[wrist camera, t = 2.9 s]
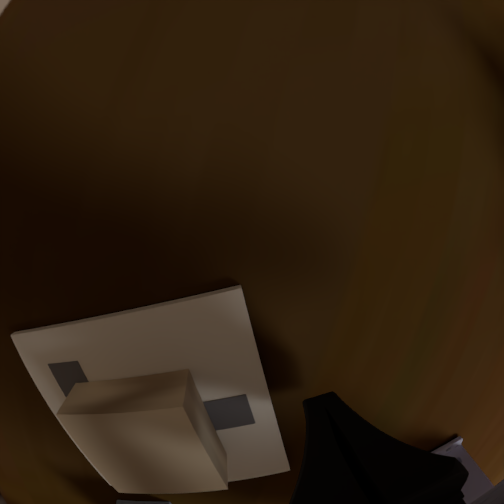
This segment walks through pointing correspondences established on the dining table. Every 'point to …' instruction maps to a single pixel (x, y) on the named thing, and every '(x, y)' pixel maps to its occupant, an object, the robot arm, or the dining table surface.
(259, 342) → the dining table surface
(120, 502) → the slate cube
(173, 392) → the birch block
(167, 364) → the letter card
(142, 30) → the dining table surface
